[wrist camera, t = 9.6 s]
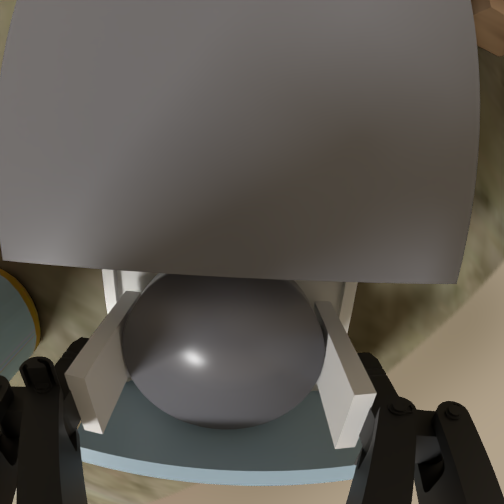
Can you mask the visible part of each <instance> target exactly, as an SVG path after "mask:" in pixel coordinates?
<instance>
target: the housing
mask: <svg viewBox="0 0 504 504" xmlns="http://www.w3.org/2000/svg"><path fill="white" fill-rule="evenodd" d="M479 133H480V80H479V62H478V50H477V40H476V31H475V24H474V17H473V11H472V5H471V0H17V2H16V5H15V9H14V12H13V16H12V20H11V24H10V28H9V32H8V37H7V41H6V46H5V51H4V56H3V62H2V68H1V75H0V245H1V251H2V258H3V260H4V261H14V262H25V263H36V264H47V265H58V266H70V267H82V268H95V269H108V270H122V271H136V272H151V273H166V274H182V275H199V276H217V277H236V278H257V279H280V280H305V281H334V282H369V283H418V284H457V280H458V276H459V272H460V268H461V264H462V259H463V255H464V250H465V245H466V241H467V235H468V230H469V225H470V219H471V213H472V206H473V199H474V192H475V184H476V174H477V164H478V151H479Z"/></svg>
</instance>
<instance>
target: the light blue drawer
mask: <svg viewBox="0 0 504 504" xmlns="http://www.w3.org/2000/svg"><path fill="white" fill-rule="evenodd" d="M102 274H103V283H104V292H105V299H106V307H107V314H108V313H109V312H110V311H111V309H112V308H113V307H114V306H115V304H116V303H117V302H118V300H119V299H120V298H121V296H122V295H123V294H124V293H125V291H136V292H141V294H142V293H143V291H144V290H145V288H146V286H147V285H148V284H149V283H150V282H151V281H152V280H153V278H154V277H155V276H157V275H158V274H159V273H151V272H136V271H122V270H108V269H102ZM294 281H295V282H296V283H297V284H298V286H299V287H300V288H301V289H302V291H303V292H304V293H305V295H306V297H307V299H308V300H309V302H310V304H311V306H312V309H314V302H315V301H330V302H331V304H332V306H333V308H334V310H335V312H336V313H337V315H338V317H339V319H340V321H341V323H342V325H343V327H344V329H345V331H346V333H348V328H349V324H350V319H351V314H352V309H353V304H354V299H355V294H356V289H357V283H358V282H334V281H305V280H294ZM78 433H79V436H80V449H81V459H82V461H83V462H87V463H90V464H94V465H98V466H102V467H106V468H110V469H114V470H119V471H124V472H128V473H133V474H139V475H144V476H150V477H156V478H162V479H169V480H177V481H185V482H195V483H206V484H220V485H244V486H273V485H275V486H277V485H300V484H314V483H325V482H335V481H343V480H351V479H353V477H354V473H355V469H356V465H354V463H355V461H356V459H357V457H358V455H359V453H360V450H361V448H362V443H361V440H360V437H359V439H358V441H357V443H356V446H355V447H350V448H341V449H335V448H334V444H333V440H332V436H331V433H330V429H329V425H328V422H327V418H326V415H325V411H324V407H323V404H322V400H321V397H320V393H319V389H318V386H317V382H316V384H315V385H314V387H313V388H312V390H311V391H310V393H309V394H308V395H307V396H306V397H305V398H304V400H303V401H302V402H300V403H299V404H298V405H297V406H296V407H295V408H293V409H292V410H290V411H289V412H288V413H286V414H284V415H282V416H281V417H279V418H277V419H275V420H272V421H270V422H267V423H264V424H261V425H258V426H254V427H248V428H242V429H211V428H205V427H200V426H196V425H193V424H189V423H186V422H184V421H181V420H179V419H176V418H174V417H173V416H171V415H169V414H167V413H165V412H164V411H162V410H161V409H159V408H158V407H156V406H155V405H154V404H153V403H152V402H150V401H149V400H148V399H147V398H146V397H145V396H144V395H143V394H142V393H141V391H140V390H139V389H138V387H137V386H136V385H135V383H134V381H133V380H132V378H131V376H130V374H129V376H128V379H127V381H126V383H125V385H124V387H123V390H122V392H121V394H120V396H119V399H118V401H117V403H116V405H115V408H114V410H113V412H112V414H111V417H110V419H109V421H108V424H107V426H106V428H105V431H104V433H103V434H99V433H95V432H91V431H87V430H84V427H83V425H82V422H81V424H80V426H79V428H78Z"/></svg>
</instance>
